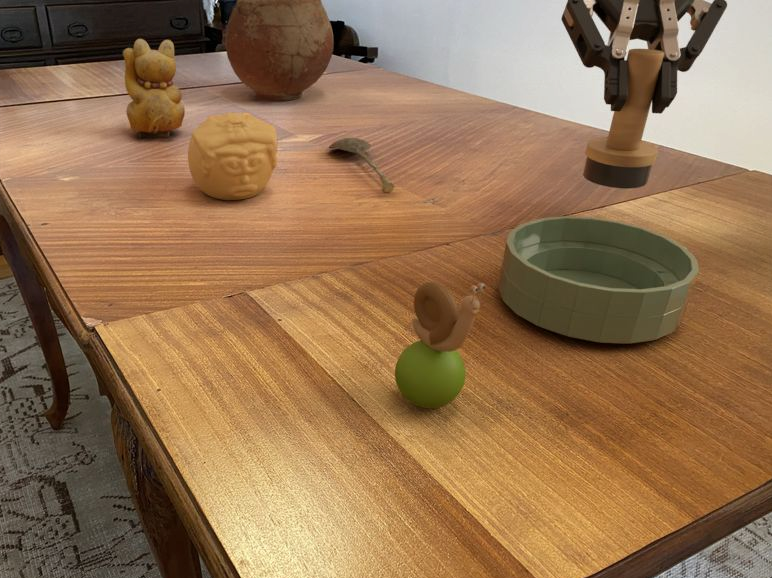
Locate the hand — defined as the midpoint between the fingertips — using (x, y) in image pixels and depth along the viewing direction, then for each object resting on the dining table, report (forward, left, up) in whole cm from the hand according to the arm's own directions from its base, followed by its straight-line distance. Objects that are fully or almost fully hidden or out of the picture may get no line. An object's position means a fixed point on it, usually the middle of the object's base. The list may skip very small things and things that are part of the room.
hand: (640, 106), depth 60 cm
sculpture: (+40, -29, -20) cm, 54 cm away
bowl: (0, 0, -19) cm, 19 cm away
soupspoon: (+22, -41, -20) cm, 51 cm away
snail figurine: (+17, +18, -20) cm, 31 cm away
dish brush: (0, -2, -7) cm, 7 cm away
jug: (+39, -87, -20) cm, 98 cm away
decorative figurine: (+57, -56, -20) cm, 83 cm away
